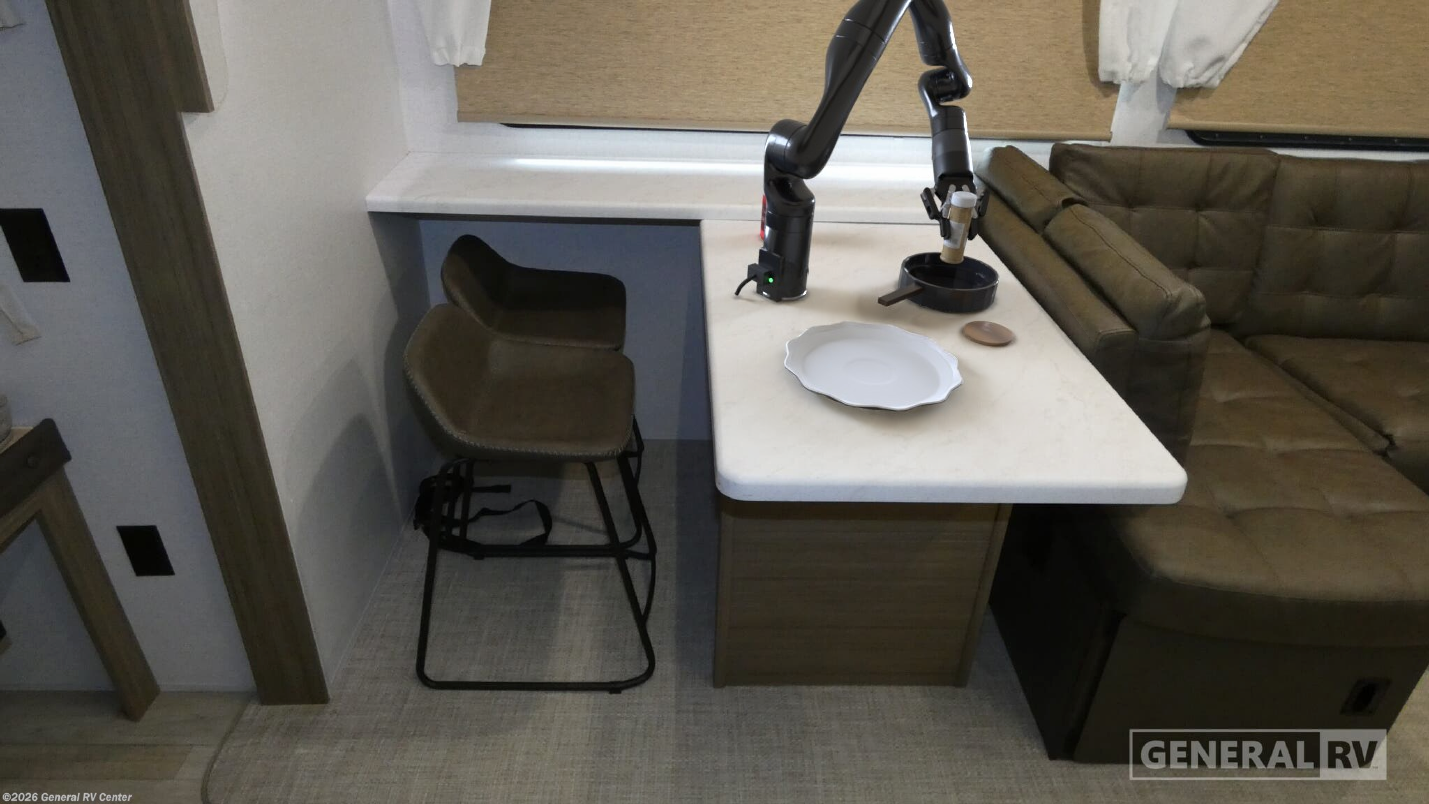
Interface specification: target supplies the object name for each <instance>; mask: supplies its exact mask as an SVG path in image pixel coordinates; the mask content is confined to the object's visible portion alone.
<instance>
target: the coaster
mask: <svg viewBox="0 0 1429 804" xmlns="http://www.w3.org/2000/svg"><path fill="white" fill-rule="evenodd" d="M962 333H963V335H964V336H965V337H966V338H967V339H968V340H970V341H972V342H975V343H976V344H980V345H984V346H991V347H1001V346H1007V345H1009V344H1010V343H1012V341H1013V340H1014V333H1013V331H1011V329H1009V328H1008V327H1006V326H1004V325H1002V324H999V323H997V322H993V321H987V320H974V321H973V320H972V321H969V322H967V323H965V324H964V325H963V328H962Z"/></svg>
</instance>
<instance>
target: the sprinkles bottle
mask: <svg viewBox="0 0 1429 804" xmlns="http://www.w3.org/2000/svg"><path fill="white" fill-rule="evenodd" d="M976 203H977V196H976V195H975V194H973V193H969V192H963V191H959V192H955V193H953V195H952V200H951V208H950V211H949V215H948V219H950V230H951V237H950V238H949V239H948V240H944V239H943V244H942V249H941V252H942V253H941V256H940V258H941V260H942V261H944V262H947V263H951V264H958V263H961V262H962V261H963V255H964V256H965V250H966V246H967V242H968V233H969V228H970V222H971V218H972V213H973V208H975V206H976Z"/></svg>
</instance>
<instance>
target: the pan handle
mask: <svg viewBox="0 0 1429 804" xmlns="http://www.w3.org/2000/svg"><path fill="white" fill-rule="evenodd" d="M922 291H923V287H922V286H919V285H917V284H915V283H914V284H911V285H909V286H906V287H904V288H901V289H899V290H898V289H896V290H894V291H891V292H888V293H886V294H884V295H881V296H879V297H878V298H877V303H876V304H878V305H880V306H883V307H885V308H888V307H891V306H893V305H895V304H898V303H900V302H903V301H905V300H908V298H910V297H913V296H915V295H918V294H920V293H922Z"/></svg>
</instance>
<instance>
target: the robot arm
mask: <svg viewBox="0 0 1429 804" xmlns="http://www.w3.org/2000/svg"><path fill="white" fill-rule="evenodd" d="M907 11H908V12H909V15H910V19H911V22H912V26H913V31H914V36H915V40H916V45H917V48H918V49H917V50H918V54H919V57H920V61H921V62H922V63H923V64H924V65H926V66H929V67H936V68H932V69H927V70H926V71H924V72H922V73H921V75H920V76H919V77H918V80H917V84H916V85H917V87H916V88H917V92H918V95H919V98H920V100H921V102H922V104H923V106H924V108H925V111H926V114H927V116H928V121H929V127H930V135H931V136H930V138H931V162H932V171H933V182H934V185H933V187H928V186H926V187H925V188H924V189H923V190H922V191H921V193H920V195H919V196H920V199H921V202H922V205H923V206H924V208H925V212H926V214H927V216H928V218H929V220H931V221H933V220H935V221H937V222H938V224H939V234H940V237H941V238H942V239H943V241H944V240H948V239H949V238H950V237H951V230H950V219H948V218H949V214H950V209H951V200H952V195H953V193H955V192H959V191H963V192H969V193H973V194H975V195H976V196H977V199H976V202H977V207H976V208H975V207H974V208H973V213H972V218H971V222H970V228H969V233H968V238H967V242H969V241H970V242H971V241H973V240H975V238H976V237H977V236H978V234H979V230H978V222H979V221H981V220H982V219H983V218H984V217H985V216H986V215H987V211H988V206H989V202H990V201H989V200H990V196H991V192H992V191H991V189H990V188H985V189H982V188H978V187H977V185H976V183H975V181H974V180H975V179H974V177H975V176H974V175H975V174H974V165H973V156H972V148H971V142H970V138H969V133H968V132H969V131H968V122H967V121H968V120H967V115H966V111H965V109H964V108H963V107H962V106H959V105H955V104H954V105H953V104H946V103H951V102H955V101H959V100H963V99H965V98H967V97H968V96H969V95H970V93H971V91H972V89H973V76H972V74H971V71H970V69H969V67H968V65H967V64H966V62H965V61H964V59H963V57H962V55H961V52H960V51H959V48H958V46H957V42H956V37H955V31H954V30H955V29H954V27H953V26H954V25H953V20H952V17H951V14H950V11H949V8H948V6H947V5H946V3H945V0H857V2H855V3H854V4H853V5H852V6H851V7H850V8H849V10H848V11H847V12H846V13H845V15H844V16H843V18H842V19H841V21H840V23H839V25H838V26H837V28H836V30H835V32H834V34H833V36H832V38H831V39H830V41H829V44H828V46H827V49H826V53H825V62H824V88H823V92H822V97H821V99H820V102H819V104H818V106H817V108H816V109H815V112H814V114H813V116H812V117H811V119H810V121H809V122H808V123H805V122H802V121H800V120H795V119H793V118H784V119H780V120H778V121H776V122H775V123H774V124H773V126H772V127H771V128H770V130H769V132H768V134H767V136H766V139H765V142H764V143H765V144H764V149H763V150H764V151H763V177H762V179H763V181H762V188H763V192H764V195H765V197H766V215H765V227H764V240H762V242H763V243H762V246H761V247H759V248H758V259H757V263H756V262H753V263H750V264H748V265H747V273H746V278H745V279H743V280H742V281H741V283H740V284H739V285H738V286H737V287H736V290H735V292H734V296H737V297H738V296H739V295H740V293H741V291H742V289H743V288H744V287H745V286H746V285H748V283H750V282H755V283H756V287H755V288H756V289H755V292H756V293H757V294H759V295H761V296H763V297H765V298H767V299H769V300H771V301H773V302H775V303H780V302H795V301H799V300H801V299H804V297H806V295H807V285H808V284H807V283H808V277H809V276H810V275H809V274H810V266H809V265H810V255H811V247H812V245H811V244H812V237H813V227H814V220H815V219H814V217H815V209H816V197H815V194H814V193H813V192H812V191H811V190H810V188H809V187H808V186H807V184H806V183H805V181H804V180H806V181H807V180H811V179H814V178H816V177H817V176H818V175H819V174H820V173H822V171H823V170H824V168H826V166H827V164H828V162H829V161H830V159H831V157H832V154H833V152H834V151H835V148H836V146H837V143H838V141H839V139H840V136H841V134H842V132H843V130H844V127H845V126H846V123H847V121H848V119H849V116H850V114H851V112H852V110H853V108H854V106H855V104H856V103H857V100H858V99H859V97H860V95H861V92H862V91H863V89H864V87H865V85H866V83H867V81H868V80H869V78H870V76H871V75H872V72H873V71H874V69H875V68H876V67H877V64H878V63H879V61H880V59H881V57H882V56H883V54H884V52H885V50H886V49H887V46H888V44H889V43H890V40H891V39H892V37H893V35H894V33H895V30H897V28H898V26H899V24H900V22H901V20H902V19H903V17H904V16H905V14H906V12H907ZM935 196H936V197H937V199H938V200H939V201H940V207H938V204H937V202H936V200H935Z"/></svg>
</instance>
